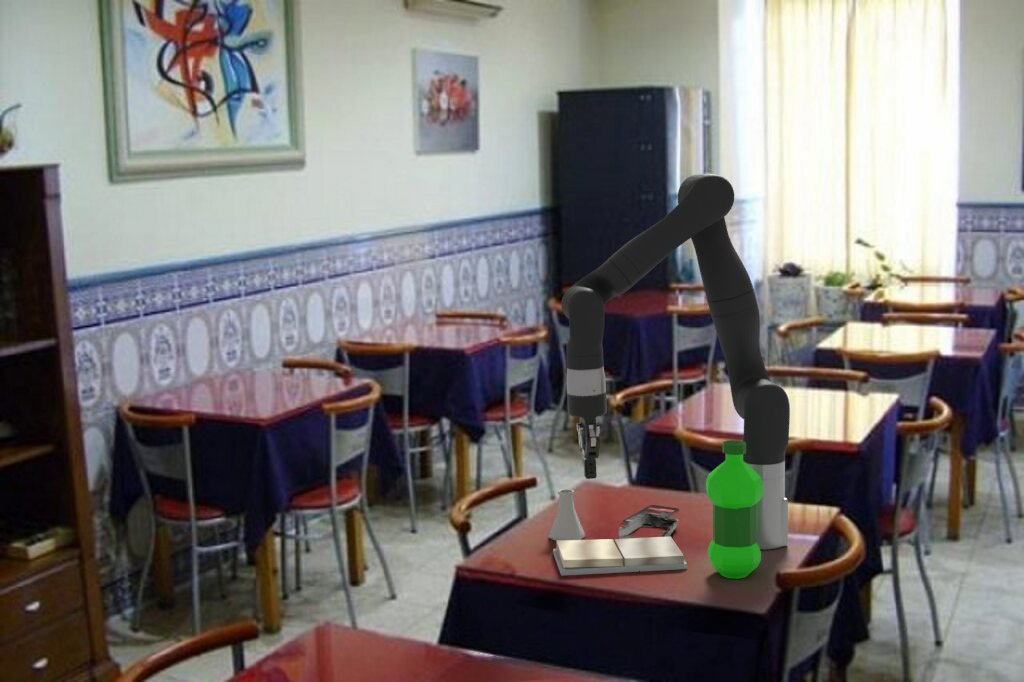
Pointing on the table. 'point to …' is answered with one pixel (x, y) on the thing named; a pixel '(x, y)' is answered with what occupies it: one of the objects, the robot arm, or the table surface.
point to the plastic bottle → (734, 513)
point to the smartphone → (653, 509)
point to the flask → (566, 519)
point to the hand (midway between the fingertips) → (590, 477)
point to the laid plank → (649, 551)
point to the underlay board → (614, 568)
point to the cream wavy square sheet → (589, 553)
